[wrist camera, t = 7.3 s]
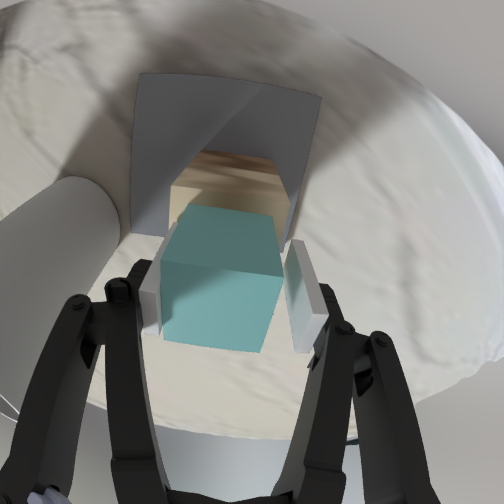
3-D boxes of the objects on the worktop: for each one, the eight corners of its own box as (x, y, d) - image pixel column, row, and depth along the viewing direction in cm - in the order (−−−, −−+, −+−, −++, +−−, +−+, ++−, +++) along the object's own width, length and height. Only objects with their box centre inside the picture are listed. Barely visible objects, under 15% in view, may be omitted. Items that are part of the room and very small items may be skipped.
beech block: (183, 239, 23) (167, 281, 18) (190, 162, 20) (170, 185, 15) (261, 250, 24) (265, 295, 19) (279, 175, 21) (290, 203, 16)
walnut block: (194, 212, 29) (183, 239, 23) (202, 149, 25) (190, 162, 20) (259, 222, 29) (261, 250, 24) (272, 159, 26) (279, 175, 21)
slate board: (135, 226, 31) (131, 232, 29) (144, 74, 21) (139, 73, 20) (280, 246, 33) (282, 252, 32) (317, 97, 24) (321, 97, 23)
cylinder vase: (115, 272, 34) (42, 438, 13) (45, 243, 31) (-49, 373, 10) (131, 191, 28) (-7, 378, 7) (50, 163, 25) (-101, 282, 4)
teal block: (183, 272, 18) (163, 339, 13) (188, 203, 15) (160, 259, 10) (256, 282, 19) (259, 352, 13) (272, 216, 16) (284, 277, 11)
